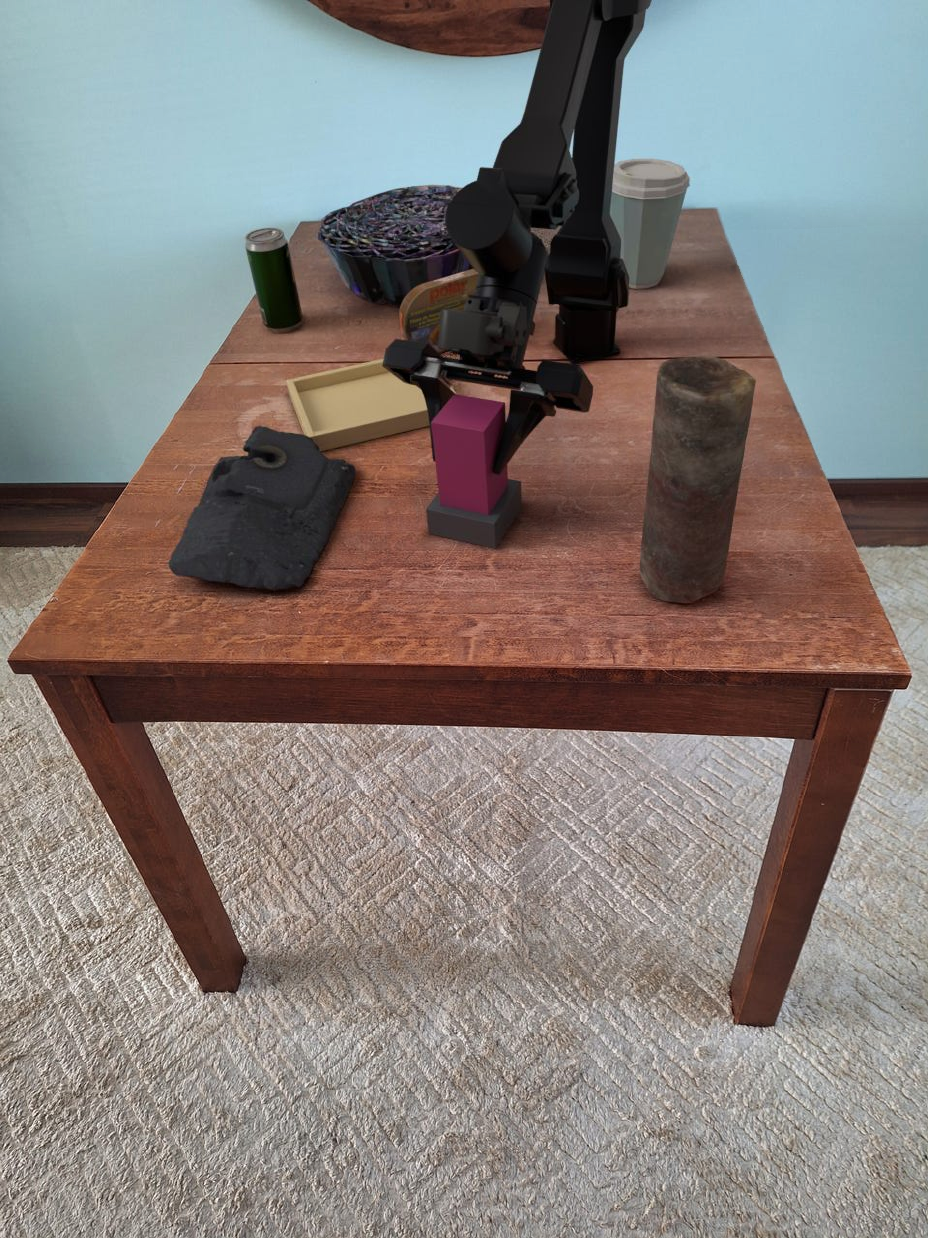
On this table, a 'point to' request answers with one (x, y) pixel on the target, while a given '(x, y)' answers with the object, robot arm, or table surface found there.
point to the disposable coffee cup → (647, 215)
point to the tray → (356, 405)
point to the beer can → (274, 279)
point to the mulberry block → (469, 453)
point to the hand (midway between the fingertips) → (466, 467)
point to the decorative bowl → (393, 242)
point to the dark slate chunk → (264, 513)
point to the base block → (476, 519)
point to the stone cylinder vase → (693, 475)
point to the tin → (434, 306)
